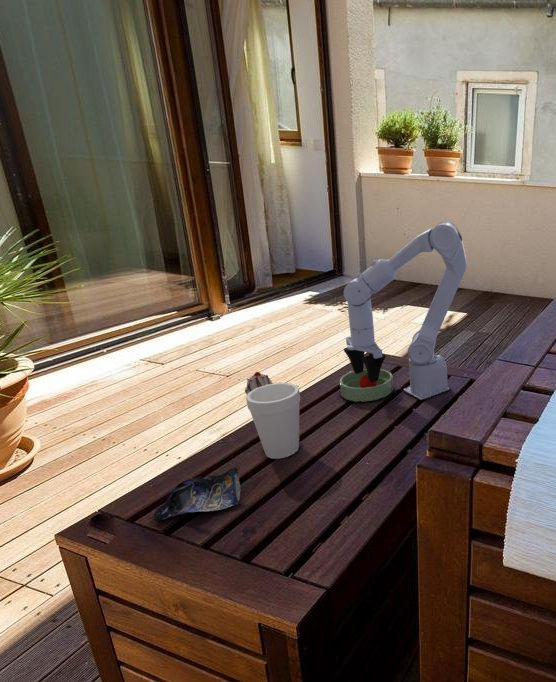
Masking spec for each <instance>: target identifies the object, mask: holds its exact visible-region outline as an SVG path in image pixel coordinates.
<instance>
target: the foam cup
mask: <svg viewBox="0 0 556 682" xmlns="http://www.w3.org/2000/svg"><path fill="white" fill-rule="evenodd" d="M245 400H246V401H245V402H246V405H247V409H248V411H249V413H250V415H251V417H252V421H253V423H254V426H255V429H256V432H257V435H258V437H259V438H258V439H259V440H260V443H261V446H262V449H263V452H264V454H265V456H266V457H267V458H269V459H273V460H280V459H284V458H288V457H290V456H292V455H294V454H295V453H296V452H298V451H299V447H300V401H301V392H300V388H299V387H298V386H297V384H292V383H289V382H276V383H273V384H268V385H264V386H261V387H258V388H256V389H254V390H252V391H250V392H249V393H248V394H246V396H245Z"/></svg>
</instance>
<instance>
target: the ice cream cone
mask: <svg viewBox="0 0 556 682" xmlns="http://www.w3.org/2000/svg"><path fill="white" fill-rule="evenodd" d="M246 381H247V382H246V387H245V388H244V392H245V394H246V395H247V394H248V393H249V392H250V391H252V390H254V389H256V388H258V387H261V386H264V385H268V384H274V383H273V382H272V380H271V378H270V377H269V375H268V374H263V373H261V372H259V371H256V372H254V374H253V375H252V376H250V377H249V378H247V379H246Z"/></svg>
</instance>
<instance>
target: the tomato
mask: <svg viewBox="0 0 556 682" xmlns="http://www.w3.org/2000/svg"><path fill="white" fill-rule="evenodd" d="M359 383H360V387H361V388H367V387H374V386H376V385H377V381H375V382H372V383H371V382H370V381H369V378H368V373H365V375H364V376H362V377H361V379H360V382H359Z"/></svg>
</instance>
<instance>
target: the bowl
mask: <svg viewBox="0 0 556 682" xmlns="http://www.w3.org/2000/svg"><path fill="white" fill-rule="evenodd" d="M365 373H367V369H366V368H364V369H363V372H362V373H358V374H355V372H354V370H351V371H349V372H347V373H345V374H343V375H342V376H341V377H340V378H339V389H340V391H339V392H340V396H341V397H342V398H344V399H345V400H347V401H352V402H371V401H377V400H380V399H383V398H385V397H388V396H389V395H390V394H392V392H393V391H394V388H395V387H394V378H393V377H394V376H393V374H392V372H391V371H388V370H386V369H382V368H381V369H380V373H379V379H378V381H377V385H376V386H374V387H367V388H361V387H360V383H359V382H360V379H361V377H362V376H364V375H365Z"/></svg>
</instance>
